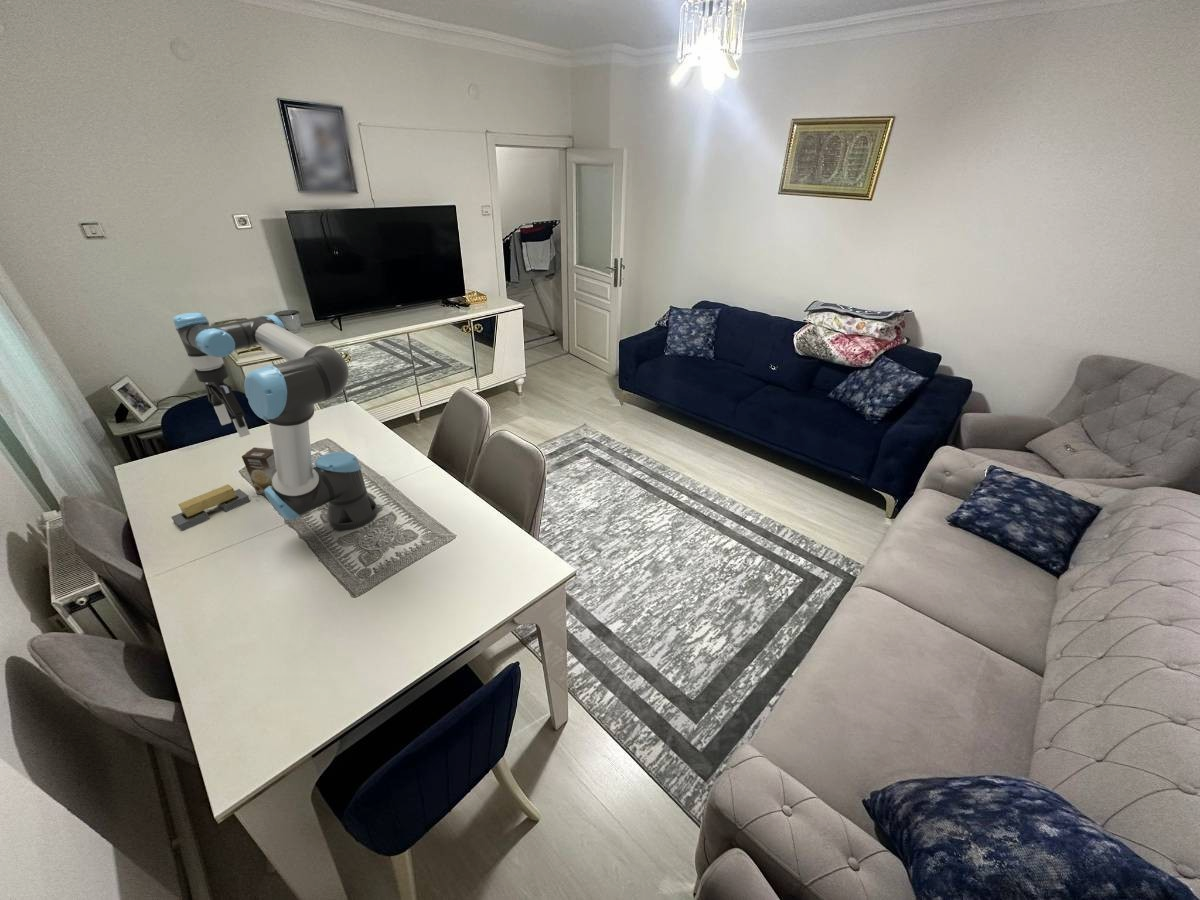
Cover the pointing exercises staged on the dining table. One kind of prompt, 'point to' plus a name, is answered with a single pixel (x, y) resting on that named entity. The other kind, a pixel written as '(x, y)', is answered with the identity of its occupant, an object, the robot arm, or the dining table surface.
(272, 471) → the coffee box
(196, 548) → the dining table surface
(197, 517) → the silver square rings
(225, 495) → the tall gold block
